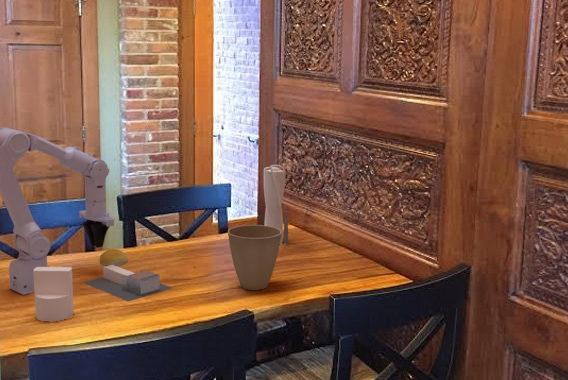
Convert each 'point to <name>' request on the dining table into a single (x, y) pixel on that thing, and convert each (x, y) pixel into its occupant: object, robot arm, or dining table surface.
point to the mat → (119, 289)
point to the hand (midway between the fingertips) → (97, 246)
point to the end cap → (141, 283)
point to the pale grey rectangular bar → (115, 273)
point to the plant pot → (254, 254)
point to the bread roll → (113, 257)
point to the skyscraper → (275, 200)
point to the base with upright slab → (53, 293)
